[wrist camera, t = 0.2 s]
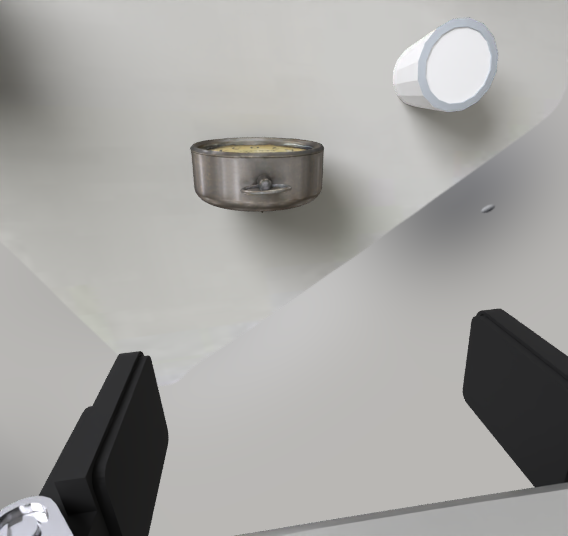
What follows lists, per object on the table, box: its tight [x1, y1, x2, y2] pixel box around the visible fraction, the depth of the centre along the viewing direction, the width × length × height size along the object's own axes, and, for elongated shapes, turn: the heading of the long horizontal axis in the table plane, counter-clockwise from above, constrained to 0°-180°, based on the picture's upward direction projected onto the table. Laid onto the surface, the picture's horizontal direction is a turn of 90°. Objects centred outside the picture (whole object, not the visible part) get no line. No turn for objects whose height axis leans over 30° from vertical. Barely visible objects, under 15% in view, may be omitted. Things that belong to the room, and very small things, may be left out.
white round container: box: [393, 17, 498, 112], centre depth 34 cm, size 7×7×7 cm
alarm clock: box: [190, 137, 324, 213], centre depth 31 cm, size 11×5×16 cm, turn 90°
